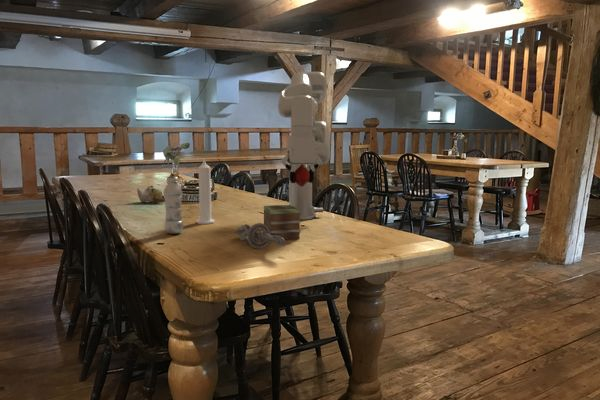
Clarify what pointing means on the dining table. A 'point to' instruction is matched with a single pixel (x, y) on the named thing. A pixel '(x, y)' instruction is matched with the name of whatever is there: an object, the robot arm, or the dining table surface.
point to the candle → (205, 194)
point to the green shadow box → (283, 221)
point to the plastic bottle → (173, 206)
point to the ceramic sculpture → (150, 195)
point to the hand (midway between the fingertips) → (301, 182)
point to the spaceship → (258, 235)
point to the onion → (302, 175)
